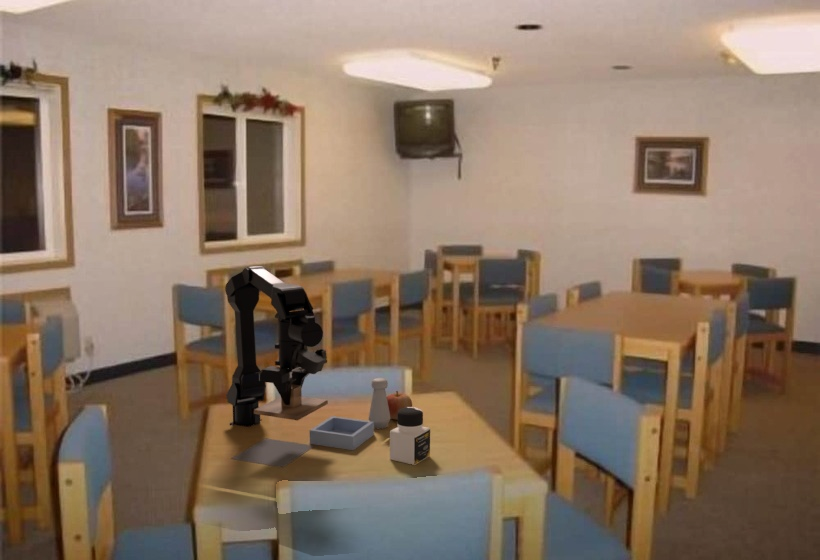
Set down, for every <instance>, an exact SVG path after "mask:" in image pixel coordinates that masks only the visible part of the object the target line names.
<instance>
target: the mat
mask: <svg viewBox="0 0 820 560" xmlns="http://www.w3.org/2000/svg"><path fill="white" fill-rule="evenodd" d="M313 448H315V445H314V444H307V443H306V444H305V443H300V442H293V441H285V440H280V439H272V438H264V439H262V440H260V441H259V442H257V443H256V444H254V445H252V446H250V447H248V448H247V449H245V450H244V451H241V452H240V453H239V454H237V455H235V456H232V458H231V460H237V461H243V462H248V463H254V464H260V465H265V466H271V467H279V468H285V467H286V466H287V465H289V464H291V463H292V462H293V461H295V460H296V459H298V458H299V457H301V456H302V455H304V454H305V453H306V452H309V451H310V450H311V449H313Z"/></svg>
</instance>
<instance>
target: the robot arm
mask: <svg viewBox="0 0 820 560" xmlns="http://www.w3.org/2000/svg"><path fill="white" fill-rule="evenodd" d="M224 288H225V289H224V291H225V295H226V298H227V303H228V304H229V305H230V307H231V309H233V311H234V322H235V324H234V325H235V337H236V340H235V341H236V354H237V356H236V357H237V367H236V368H235V371H234V372H233V374H232V378H231V381H232V382H231V385H230V387H229V388H228V391H227V392H226V401H227V403H228V404H230V405H232V421H231V422H229V426H240V427H241V426H242V427H247V428H248V427H249V428H251V427H253V426H254V425H257V424H259V423H260V422H262V421H263V419H261V415H259V414H254V409H256V408H258V407H260V405H259V402H261V401H262V402H263V401H265V400H264V399H265V395H266V394H265V393H266V387H267V385H266V383H270V384H272V385H274V387H275V389H276V390H277V392H278V394H279V397H281V398H282V400H283V402H284V404H285V405H289V404H290V396H291V384H293V385H301V389H302V388H303V385H304V382H305V379H306V378H307V377H308V376H309V375H310V374H311V375H316V374H317V373H319V372H322V370H323V368H324V365H325V364H327V363H328V360H327V350H326V349H324V348H323V347H321V348H319V349H316V350H309V349H308V348H309V347H310V348H313V347H316V346H317V345H319V343H321V341H322V339H323V335H324V331H323V329H322V327H321V325H320V324H319V323H318V322H316V317H315V314H314V308H313V306H312V304H311V301H310V299H309V297H308V294H307V291H306V290H305V289H304V288H303V286H301V285H298V284H294V283H286V282H284V281H282V280H281V279H279V278H278V277H277V276H275V275H274V274H272V273H271V272H269V271H267V270H266V267H265V266H262V265H256V266H255V265H254V266H247V267H245V268H243V269H242V271H241V272H238V273H237V274H235V275H233V276H232V277H230V278H229V280H228V281H227V282H226V284H225V287H224ZM260 292H262V293H263V294H264V295H266V296H267V297H269V299H270V305H271V306H272V307H273V309H275V311H276V313H275V314H274V318H275V320H276V319H277V331H278V332H277V335H278V337H277V339H278V340H277V342H278V343H275V344H274V349H275V350H276V349H277V350H278V359H277V360H275V361H274V365H275V366H274V365H270V366H267V367H265V368H262V369H260V368H259V366H258V365H257V364H258V363H257V352H256V351H257V350H256V348H257V346H256V331H255V317H254V316H255V315H254V311H255V309H256V307H257V305H258V303H259V302H260Z"/></svg>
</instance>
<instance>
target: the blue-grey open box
mask: <svg viewBox="0 0 820 560" xmlns="http://www.w3.org/2000/svg"><path fill="white" fill-rule="evenodd" d="M373 436H375V428H374V422H372V421H369V420H364V419H357V418H349V417H343V416H335V415H331V416H330V417H328V418H327V419H325V420H323V421H322V422H320V423H319V424H317V425H316V426H314V427H312V428H311V429H309V445H318V446H324V447H329V448H337V449H342V450H348V451H355V450H356V449H357V448H358V447H360V446H362V444H364V443H365V442H366V441H368V440H369V439H371V437H373Z"/></svg>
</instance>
